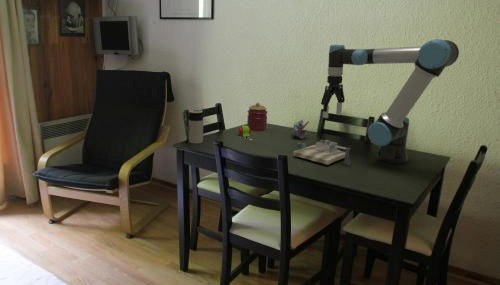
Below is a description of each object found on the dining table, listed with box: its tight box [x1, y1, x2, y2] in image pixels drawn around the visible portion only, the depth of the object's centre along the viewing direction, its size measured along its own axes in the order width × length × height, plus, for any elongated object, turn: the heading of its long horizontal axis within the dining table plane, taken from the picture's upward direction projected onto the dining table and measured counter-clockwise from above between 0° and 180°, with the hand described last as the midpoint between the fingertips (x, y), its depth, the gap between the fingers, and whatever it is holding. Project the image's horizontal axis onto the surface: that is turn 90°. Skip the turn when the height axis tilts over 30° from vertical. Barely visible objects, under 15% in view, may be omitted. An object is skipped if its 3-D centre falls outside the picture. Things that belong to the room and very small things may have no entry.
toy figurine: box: [290, 119, 310, 140], centre depth 237 cm, size 11×11×12 cm
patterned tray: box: [292, 141, 345, 165], centre depth 200 cm, size 24×20×4 cm
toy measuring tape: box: [238, 125, 254, 142], centre depth 234 cm, size 6×20×7 cm, turn 17°
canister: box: [246, 102, 268, 132], centre depth 254 cm, size 13×13×18 cm
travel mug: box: [188, 109, 204, 144], centre depth 218 cm, size 8×8×18 cm
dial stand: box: [335, 144, 352, 167], centre depth 191 cm, size 8×2×8 cm, turn 48°
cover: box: [315, 139, 339, 153], centre depth 202 cm, size 8×8×5 cm
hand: (332, 116), depth 207 cm, fingers open, 13 cm apart
